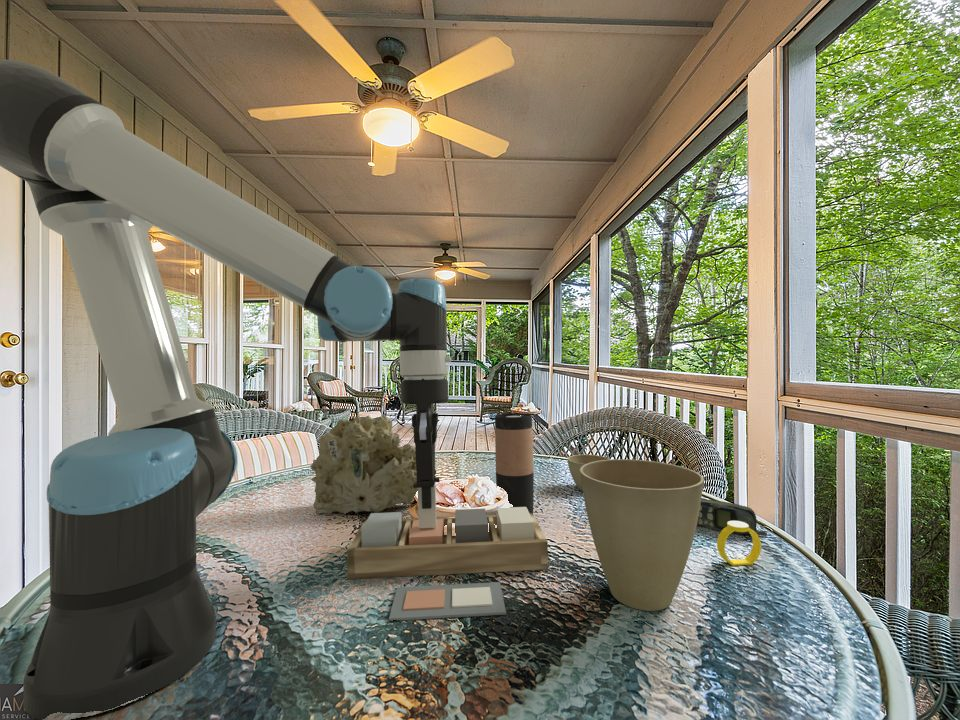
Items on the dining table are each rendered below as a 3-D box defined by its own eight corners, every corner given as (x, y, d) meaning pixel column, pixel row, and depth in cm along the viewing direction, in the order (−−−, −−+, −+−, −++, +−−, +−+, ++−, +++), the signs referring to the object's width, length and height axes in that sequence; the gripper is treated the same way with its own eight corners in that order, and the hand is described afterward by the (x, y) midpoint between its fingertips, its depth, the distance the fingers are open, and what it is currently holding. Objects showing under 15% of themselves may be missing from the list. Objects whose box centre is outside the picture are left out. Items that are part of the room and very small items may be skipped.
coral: (433, 502, 93) (431, 412, 93) (425, 518, 83) (423, 417, 83) (323, 502, 94) (321, 414, 94) (302, 518, 84) (300, 419, 85)
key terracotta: (442, 555, 63) (442, 535, 63) (409, 557, 63) (408, 537, 63) (443, 536, 70) (443, 518, 70) (413, 538, 70) (413, 520, 70)
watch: (727, 571, 60) (723, 529, 60) (715, 562, 63) (711, 522, 63) (766, 565, 61) (762, 525, 61) (753, 557, 64) (749, 518, 64)
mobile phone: (668, 496, 79) (764, 510, 69) (672, 492, 81) (765, 505, 72) (670, 523, 79) (766, 540, 69) (674, 518, 81) (767, 534, 72)
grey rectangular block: (488, 544, 63) (488, 524, 63) (455, 545, 63) (455, 525, 63) (485, 526, 70) (485, 508, 70) (455, 527, 70) (455, 509, 70)
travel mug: (503, 523, 80) (501, 418, 80) (491, 510, 87) (489, 413, 87) (540, 518, 82) (538, 416, 82) (526, 506, 89) (524, 412, 89)
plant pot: (628, 643, 45) (624, 494, 45) (562, 577, 59) (560, 464, 59) (737, 617, 49) (733, 480, 49) (651, 560, 63) (649, 455, 63)
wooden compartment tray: (548, 569, 61) (547, 541, 61) (347, 579, 60) (347, 551, 60) (533, 535, 73) (532, 513, 73) (365, 543, 72) (365, 520, 72)
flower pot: (566, 493, 97) (565, 462, 97) (569, 481, 107) (569, 453, 107) (611, 496, 94) (610, 464, 94) (610, 484, 104) (610, 455, 104)
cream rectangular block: (534, 541, 64) (533, 522, 64) (501, 543, 64) (501, 523, 64) (526, 524, 71) (526, 506, 71) (497, 525, 71) (496, 508, 71)
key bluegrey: (395, 548, 63) (395, 528, 63) (361, 550, 62) (361, 529, 62) (401, 530, 70) (401, 512, 70) (371, 531, 69) (370, 513, 69)
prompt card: (506, 614, 50) (505, 610, 50) (388, 621, 50) (388, 616, 50) (499, 584, 57) (499, 580, 57) (397, 589, 57) (397, 585, 57)
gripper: (447, 378, 60) (450, 542, 60) (448, 376, 73) (451, 511, 73) (394, 380, 60) (398, 545, 60) (405, 377, 73) (408, 513, 73)
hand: (427, 526), depth 66 cm, fingers closed
